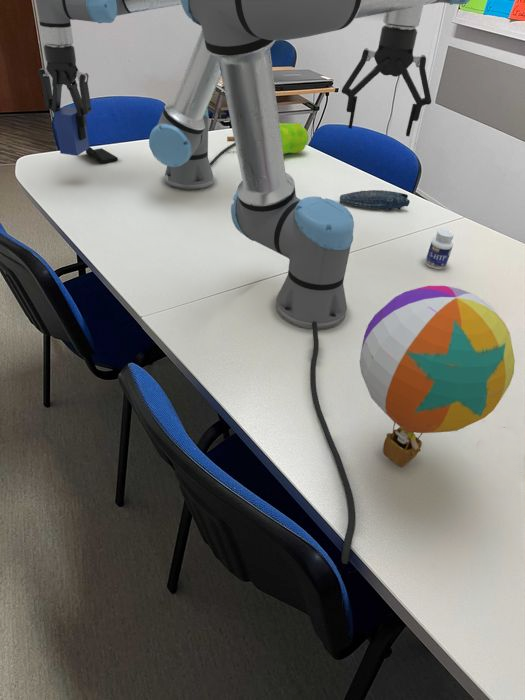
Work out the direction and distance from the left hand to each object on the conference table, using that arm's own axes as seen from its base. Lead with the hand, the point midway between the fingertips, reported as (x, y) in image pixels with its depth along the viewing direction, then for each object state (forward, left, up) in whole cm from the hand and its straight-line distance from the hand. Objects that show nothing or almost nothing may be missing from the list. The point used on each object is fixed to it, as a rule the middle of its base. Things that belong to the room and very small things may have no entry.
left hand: (73, 137), depth 149 cm
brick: (0, 0, -4) cm, 4 cm away
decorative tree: (-55, +44, -14) cm, 72 cm away
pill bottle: (+8, +106, -14) cm, 107 cm away
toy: (+76, +102, -14) cm, 128 cm away
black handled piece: (-21, -6, -14) cm, 26 cm away
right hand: (+2, +85, +15) cm, 86 cm away
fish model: (-23, +87, -14) cm, 91 cm away
